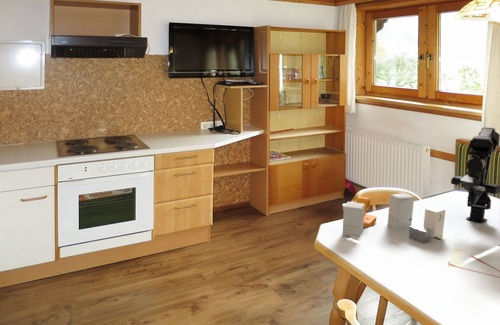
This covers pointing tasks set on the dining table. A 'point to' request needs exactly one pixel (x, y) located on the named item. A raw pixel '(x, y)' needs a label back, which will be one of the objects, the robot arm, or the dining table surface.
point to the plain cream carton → (434, 221)
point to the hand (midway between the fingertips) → (473, 204)
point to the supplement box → (353, 218)
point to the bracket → (368, 219)
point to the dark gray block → (420, 234)
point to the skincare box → (400, 211)
